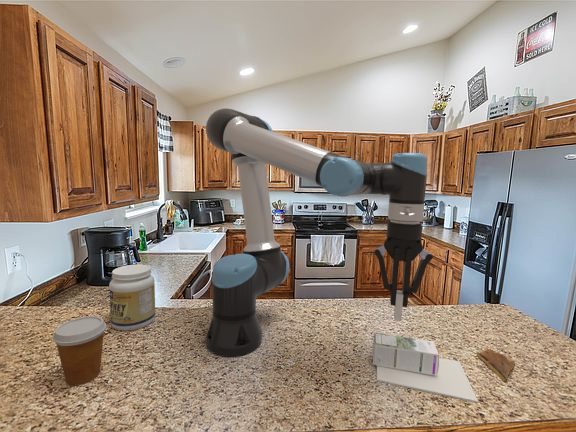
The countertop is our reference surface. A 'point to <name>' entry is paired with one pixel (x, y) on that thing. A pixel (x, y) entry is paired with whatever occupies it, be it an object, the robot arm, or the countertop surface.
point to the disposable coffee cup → (80, 348)
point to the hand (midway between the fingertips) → (397, 318)
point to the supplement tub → (132, 297)
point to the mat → (432, 380)
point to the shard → (497, 362)
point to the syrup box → (405, 354)
